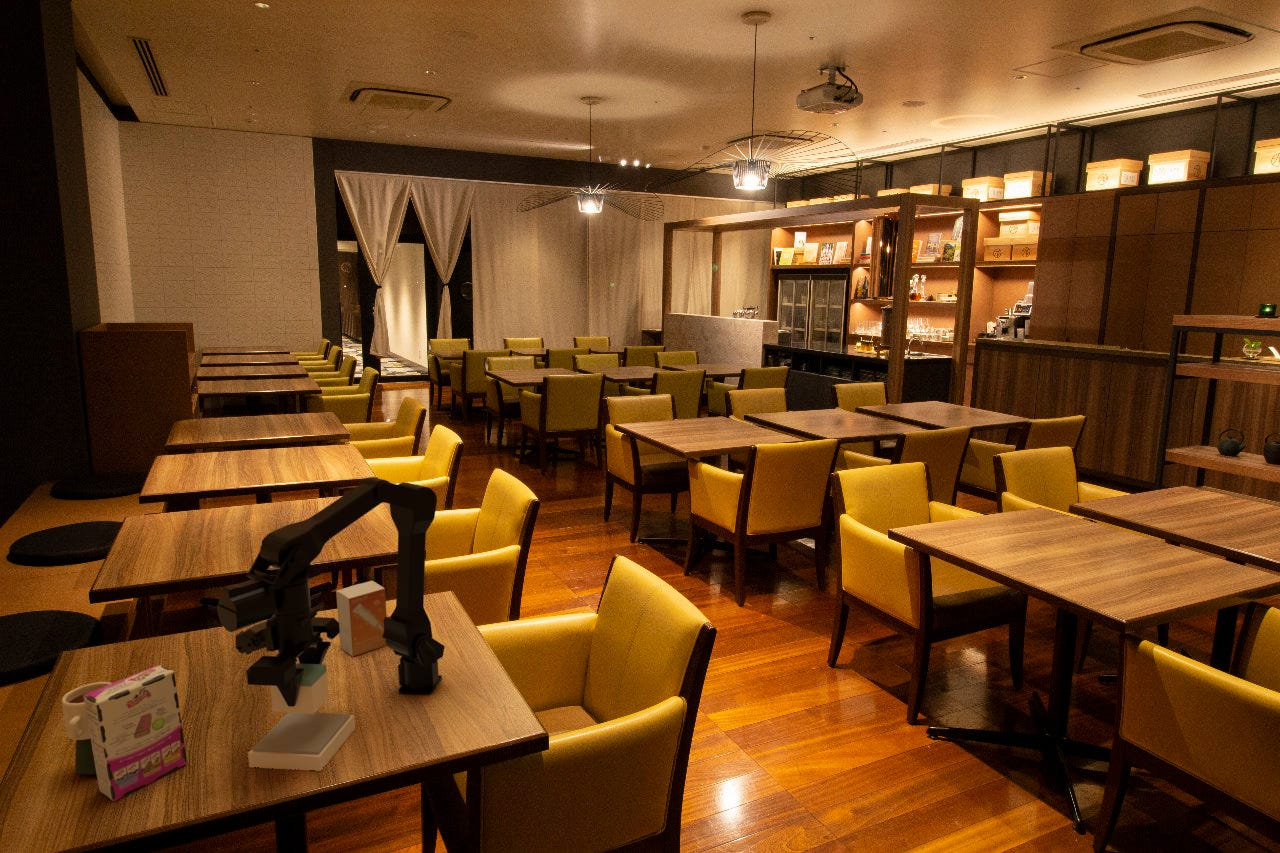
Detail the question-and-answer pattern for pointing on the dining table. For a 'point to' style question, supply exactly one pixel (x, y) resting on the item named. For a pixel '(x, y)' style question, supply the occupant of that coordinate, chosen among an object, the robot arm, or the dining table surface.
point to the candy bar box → (135, 731)
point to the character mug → (80, 726)
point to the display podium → (302, 741)
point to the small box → (361, 617)
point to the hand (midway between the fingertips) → (300, 697)
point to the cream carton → (305, 691)
